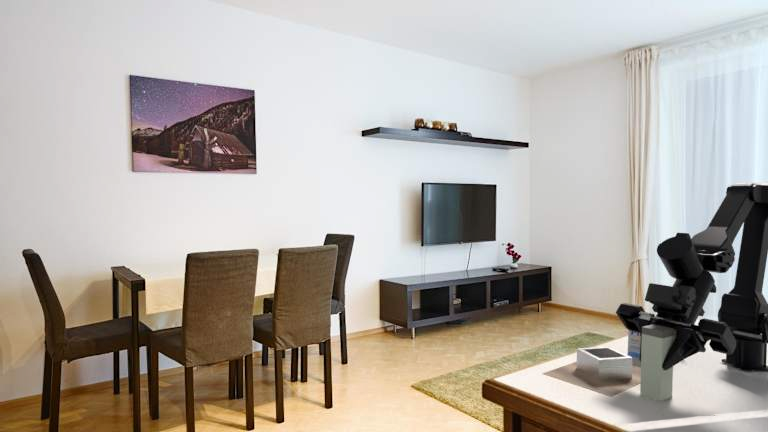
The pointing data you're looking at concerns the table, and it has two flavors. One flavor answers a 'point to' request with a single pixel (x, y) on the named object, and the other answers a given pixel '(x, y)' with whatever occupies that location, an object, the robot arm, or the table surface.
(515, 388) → the table surface
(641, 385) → the pale green prism
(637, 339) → the medicine box
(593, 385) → the beige rectangular plate
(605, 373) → the hollow square tube
